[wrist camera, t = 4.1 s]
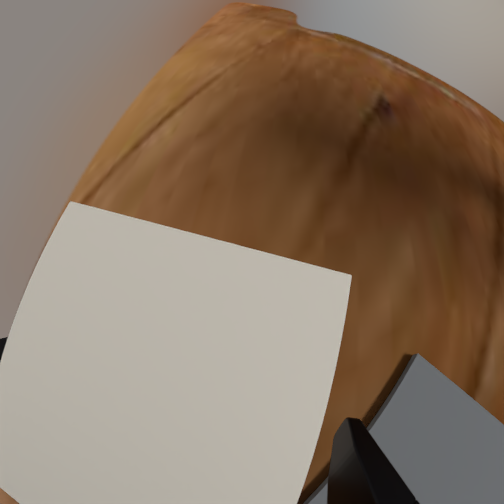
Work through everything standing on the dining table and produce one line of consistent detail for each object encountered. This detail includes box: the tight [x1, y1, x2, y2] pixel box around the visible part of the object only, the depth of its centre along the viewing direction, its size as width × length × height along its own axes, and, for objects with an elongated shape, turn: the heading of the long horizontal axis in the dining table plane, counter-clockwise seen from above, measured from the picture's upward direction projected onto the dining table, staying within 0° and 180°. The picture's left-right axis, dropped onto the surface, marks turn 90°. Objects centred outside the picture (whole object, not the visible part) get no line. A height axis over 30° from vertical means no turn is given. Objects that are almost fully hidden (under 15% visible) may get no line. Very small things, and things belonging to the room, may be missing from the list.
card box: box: [0, 201, 352, 504], centre depth 9 cm, size 5×4×13 cm
